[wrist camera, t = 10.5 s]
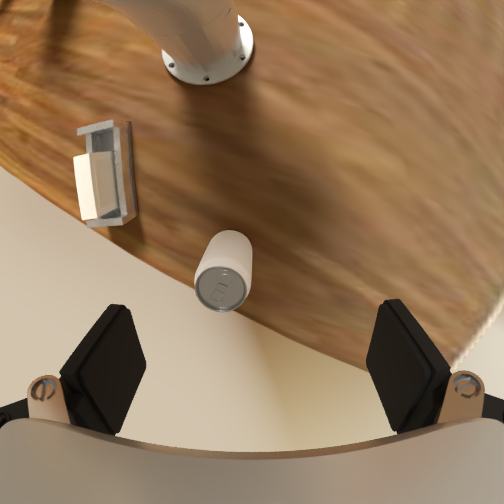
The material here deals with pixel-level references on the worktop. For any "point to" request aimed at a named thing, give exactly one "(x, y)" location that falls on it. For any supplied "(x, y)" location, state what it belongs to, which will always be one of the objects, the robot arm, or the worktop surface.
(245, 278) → the can
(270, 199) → the worktop surface
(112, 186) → the plain white block
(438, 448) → the robot arm
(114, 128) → the track
